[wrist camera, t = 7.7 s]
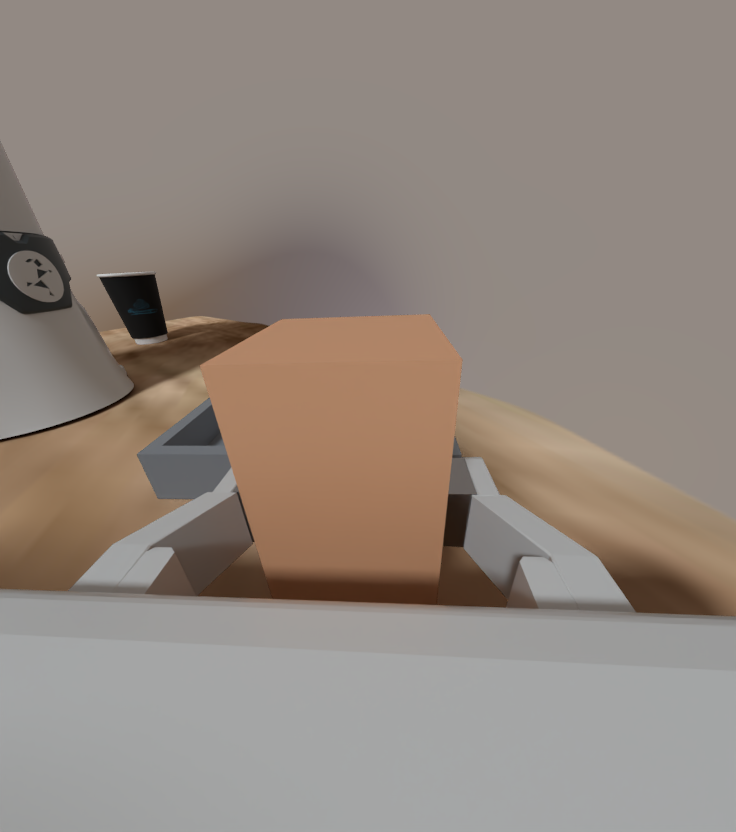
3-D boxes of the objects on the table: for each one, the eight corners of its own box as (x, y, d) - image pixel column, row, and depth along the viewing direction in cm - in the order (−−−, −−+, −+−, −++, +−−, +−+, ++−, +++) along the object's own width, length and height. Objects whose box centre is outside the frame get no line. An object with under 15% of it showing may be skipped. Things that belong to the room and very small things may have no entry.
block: (297, 676, 9) (200, 365, 5) (322, 561, 13) (281, 318, 8) (428, 684, 9) (462, 359, 4) (417, 564, 13) (429, 314, 8)
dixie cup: (150, 347, 49) (122, 273, 44) (113, 346, 51) (82, 275, 46) (187, 336, 56) (166, 271, 51) (153, 335, 58) (130, 272, 53)
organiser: (157, 498, 17) (136, 454, 15) (245, 407, 27) (237, 376, 26) (455, 502, 16) (461, 454, 14) (429, 405, 26) (431, 372, 24)
